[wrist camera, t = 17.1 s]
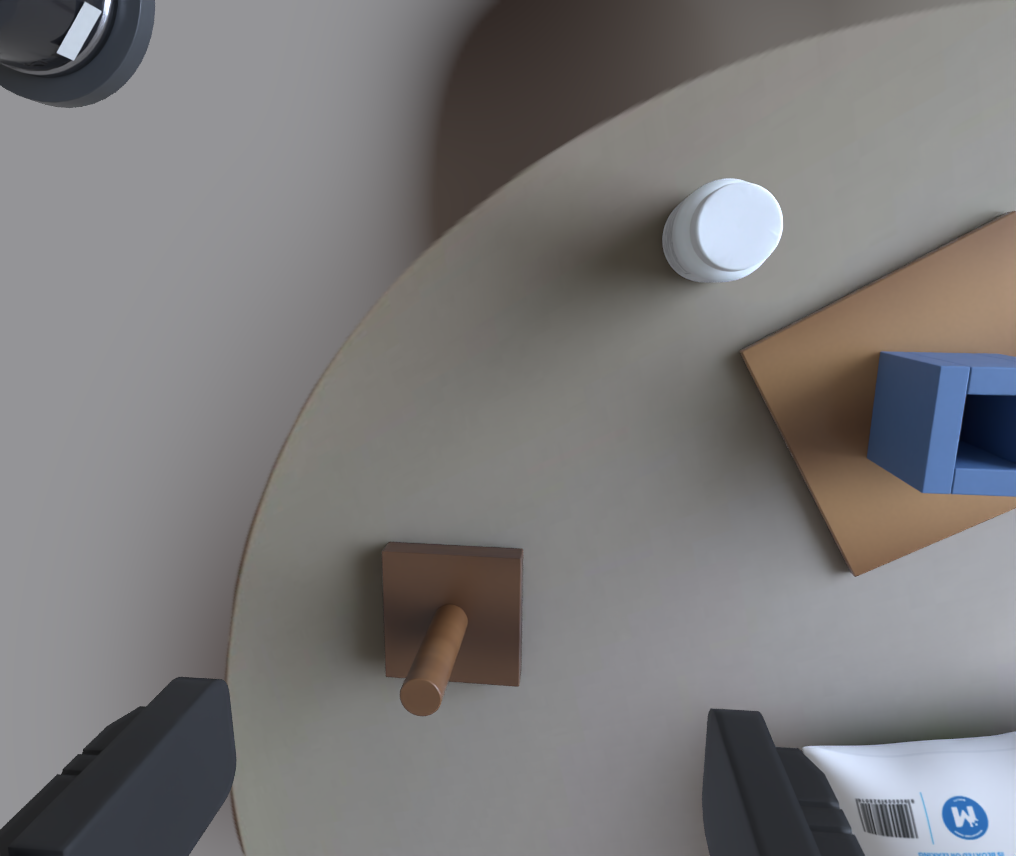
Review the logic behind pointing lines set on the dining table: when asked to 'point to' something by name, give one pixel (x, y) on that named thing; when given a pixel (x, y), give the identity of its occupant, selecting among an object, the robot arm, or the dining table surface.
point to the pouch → (927, 795)
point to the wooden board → (852, 382)
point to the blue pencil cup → (946, 422)
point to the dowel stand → (451, 618)
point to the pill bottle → (722, 231)
